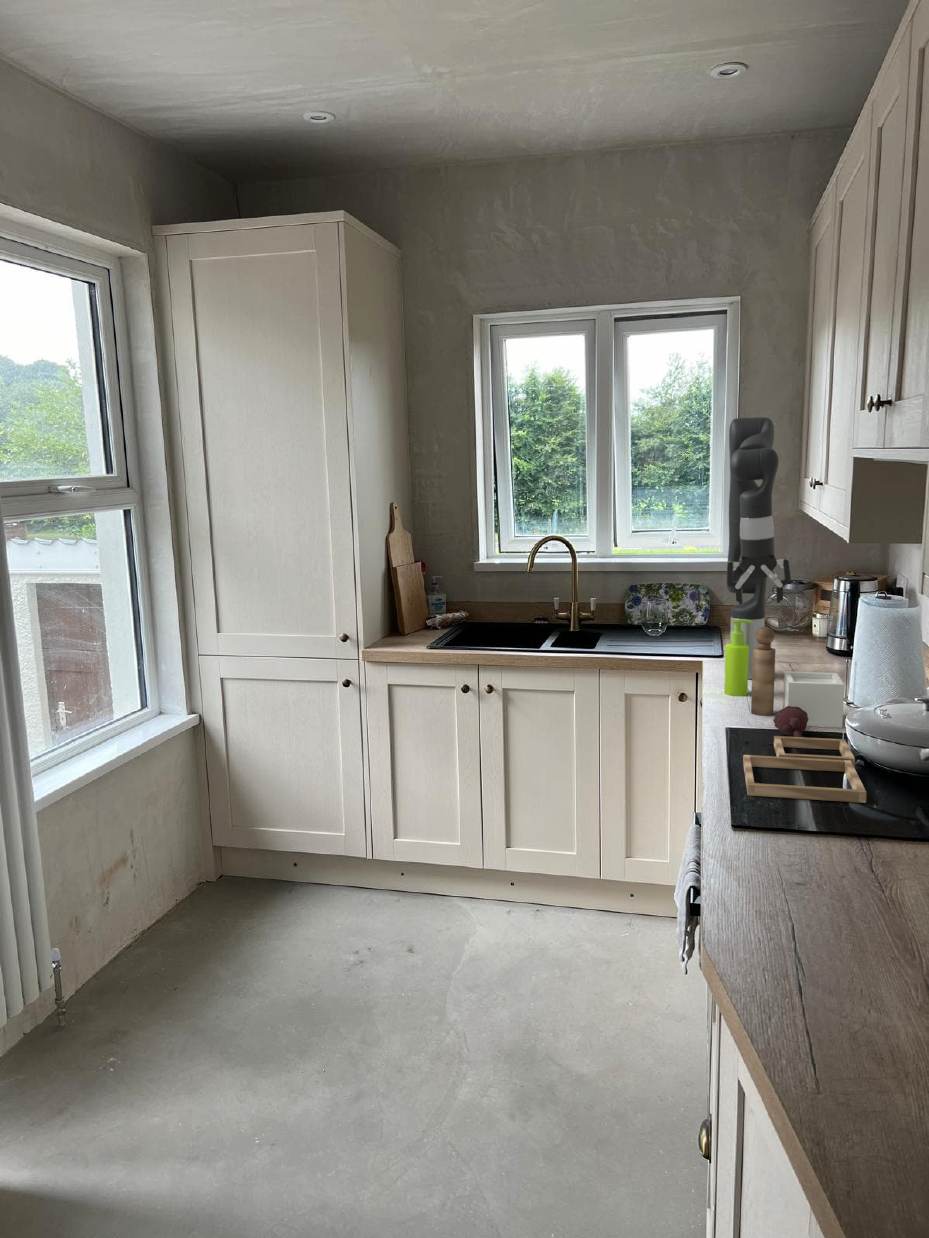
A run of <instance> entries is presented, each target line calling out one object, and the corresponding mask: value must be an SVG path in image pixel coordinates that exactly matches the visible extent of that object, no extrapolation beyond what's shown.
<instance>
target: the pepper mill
mask: <svg viewBox="0 0 929 1238" xmlns="http://www.w3.org/2000/svg"><path fill="white" fill-rule="evenodd" d="M755 638H756V640H757V642H758V647H756V648H753V666H752V679H751V701H750V704H751V706H750V712H751V714H752V715H755V716H759V717H760V716H761V717H762V716H763V717H766V716H772V715H773V716H774V702H775V700H774V699H775V698H774V697H775V674H776V673H775V671H776V648H773V647H772V643H773V641H774V639H775V632H774V631H773V629H772V628H770V627H768V626H764V627H761V628H759V629H758V630H757V631H756V633H755Z"/></svg>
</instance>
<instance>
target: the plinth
mask: <svg viewBox="0 0 929 1238" xmlns="http://www.w3.org/2000/svg"><path fill="white" fill-rule="evenodd" d="M783 676H784V677H783V696H782V697H783V700H782V709H784V708H785V707H786V706H792V707H799V708H801V709H802V710H804V711H805V712H806V713H807V715H808V722H807V727H819V728H821V727H822V728H838V729H839V728H843V719H844V718H843V717H844V695H845V693H844V692H845V683H844V682H843V680H842V678H841V677H840V675H839V674H838V673H837V672H817V671H816V672H815V671H813V672H812V671H789V670H788V671H784V672H783Z"/></svg>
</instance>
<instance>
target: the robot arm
mask: <svg viewBox="0 0 929 1238" xmlns="http://www.w3.org/2000/svg"><path fill="white" fill-rule="evenodd" d="M774 429H775V426H774V423H773V421H772V419H770V418H769V417H764V416H762V417H761V416H758V417H755V416H754V417H738V418H734V419H732V420H731V422H730V424H729V430H728V444H729V445H728V447H729V472H730V473H729V474H730V475H729V478H730V479H729V495H728V496H729V497H728V536H729V537H728V552H727V553H728V554H727V565H726V567H727V568H726V587H727V591H728V592H730V593H732V594H735V600H736V603H739V604H736V605H734V606H732V607H731V610H730V634H729V636H730V637H729V639H730V640H729V641H730V642H729V644H730V643H731V632H732V631H734V623H733V622H732V620H734V619H747V620H752V621H753V622H754V623H753V624H752V623H741V631H742V632H744V644H747V645H749V656H748V680H752V666H753V648H756V647H758V642H757V640H756V638H755V633H756V631H757V630H758V629H759V628H761V627H765V620H766V619H765V615H766V614H765V612H766V611H765V610H766V609H765V608H766V607H765V605H766V593H767V592H766V591H767V580H768V579H767V578H769V580H770V581H772V582H773V583H774V584H775V585H776V603H777V604H781V601H783V600H784V587H785V586H788V585H790V584H791V581H792V577H791V568H790V559H789V557H784V558H781V559H777V558H776V555H775V554H776V553H775V551H776V550H775V526H774V519H773V503H772V500H773V499H772V498H773V497H772V496H773V489H774V488H773V486H774V484H775V479H776V475H777V471H778V469H779V468H778V467H779V462H780V461H779V456H778V453H777V452H776V451H775V450H774V449H773V446H774V440H775V439H774V438H775V430H774ZM760 480H762V483H761V485H758V484H757V483H756V481H760ZM777 565H778V566H779V568H781V569H783V574H784V578H783V579H781V578H780V576H778V574H777V573H776V572H775V568H776V566H777ZM743 594H749V595H750V594H753V596H752V597H751V598H750V599H749V600H746V601H743Z"/></svg>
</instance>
